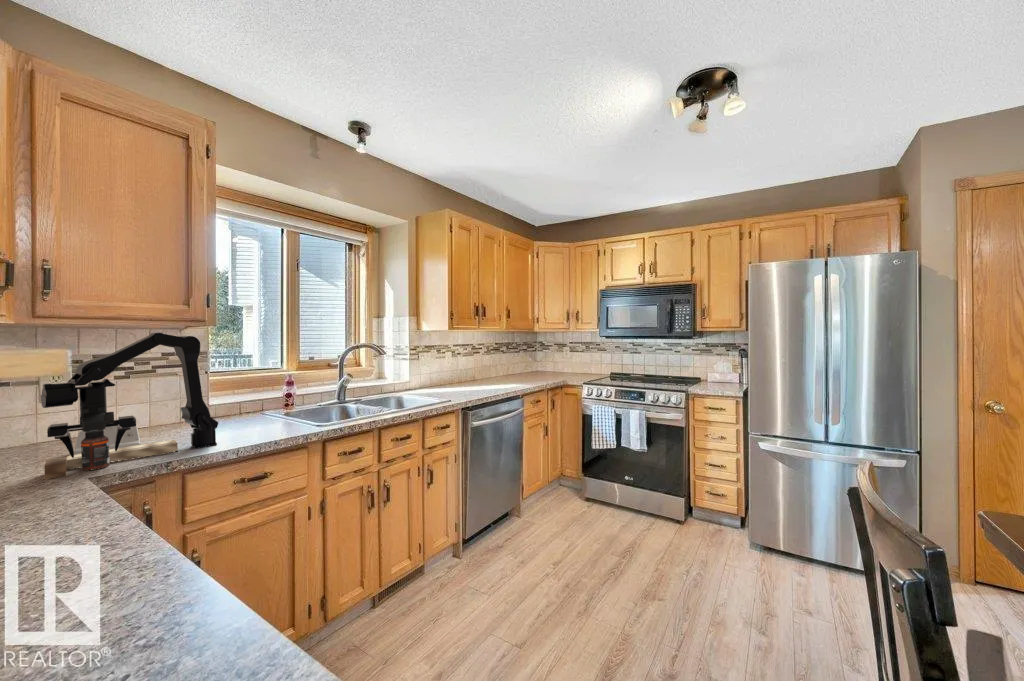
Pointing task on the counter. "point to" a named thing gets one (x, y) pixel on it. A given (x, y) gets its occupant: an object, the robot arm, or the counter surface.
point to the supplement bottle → (95, 450)
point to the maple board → (129, 452)
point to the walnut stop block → (55, 468)
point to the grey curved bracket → (113, 438)
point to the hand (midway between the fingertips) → (95, 453)
